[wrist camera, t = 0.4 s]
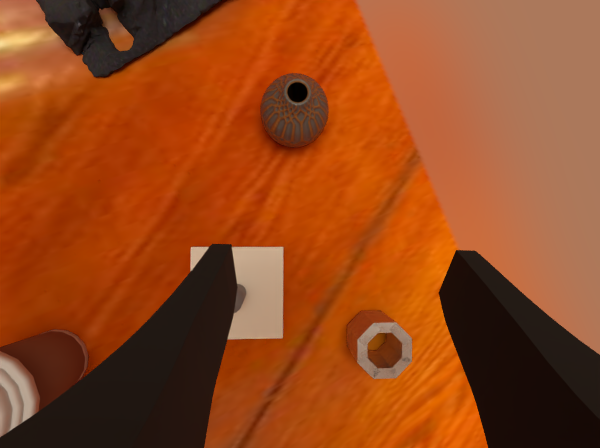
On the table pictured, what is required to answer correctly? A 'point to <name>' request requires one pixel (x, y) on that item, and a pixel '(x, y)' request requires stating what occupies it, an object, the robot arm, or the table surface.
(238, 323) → the post stand
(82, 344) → the coffee cup
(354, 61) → the table surface
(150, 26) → the crumpled black cloth
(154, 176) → the table surface
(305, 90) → the vase
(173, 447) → the robot arm
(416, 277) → the table surface
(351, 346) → the collar
